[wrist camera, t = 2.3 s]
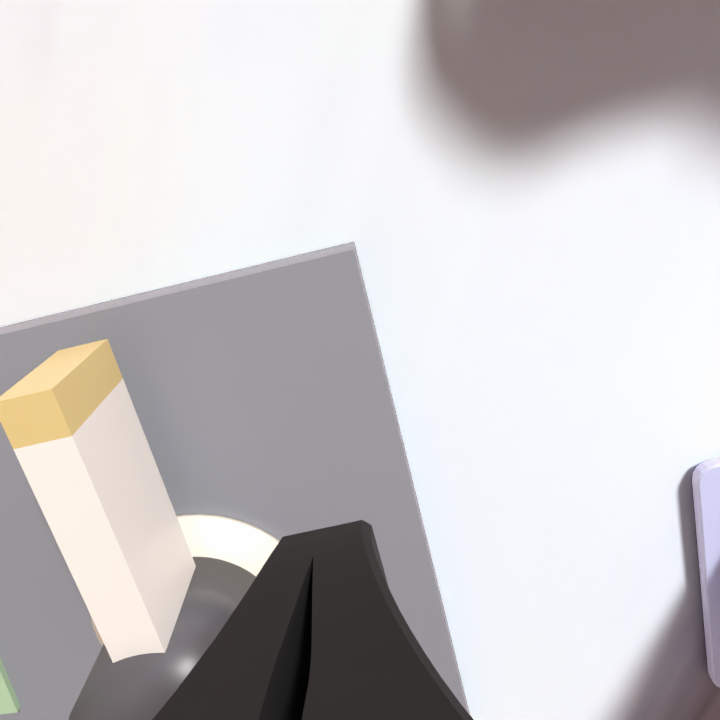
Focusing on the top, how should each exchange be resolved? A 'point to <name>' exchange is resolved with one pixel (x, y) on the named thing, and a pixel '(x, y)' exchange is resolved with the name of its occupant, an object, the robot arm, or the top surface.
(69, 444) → the peg dial
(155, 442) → the board
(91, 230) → the top surface
